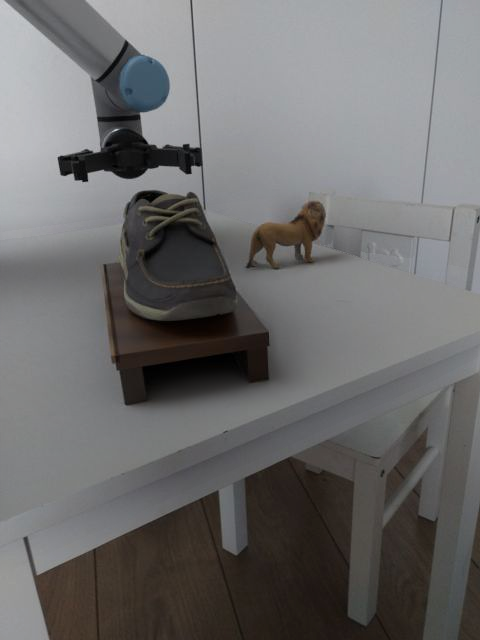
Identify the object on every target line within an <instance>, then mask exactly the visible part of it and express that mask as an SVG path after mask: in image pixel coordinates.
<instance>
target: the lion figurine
mask: <svg viewBox="0 0 480 640" xmlns="http://www.w3.org/2000/svg"><path fill="white" fill-rule="evenodd" d="M326 218H327V212H326V209H325V206H324V204H323V203H322V202H321V201H318V200H308V201H307V202H304V204H302V205H301V210H300V211H299V212H298V213H297V214H296V216H295V217H294V218H293V219H291V220H290V221H289V222H281V223H280V222H272V221H271V222H269V221H268V222H264V223H261V224H260V225H259V226H258V227H256V228H255V230H254V232H253V234H252V236H251V239H250V246H249V254H248V261H247V263H246V265H245V267H244V269H250V268H251V267H256V266H258V261H256V260H254V259H255V257H256V255H257V254H258V253H259V252H260V251H262V249H264V250H265V260H266V262H267V263H268V264H269V266H270V268H272V269H280V268H281V265H280V264H279V263H277V262H275V260H274V258H273V257H274V253H275V251H276V247H277V245H278V246H281V247H294V258H295V259H296V260H303V259H304V260H305V261H306V263H311V264H312V263H314V262H315V259H314V258H313V257H311V255H312V249H313V242H315V241H317V240H318V239H319V238H320V237H321V236H322V233H323V229H324V226H325V224H326V223H325V222H326ZM302 246H303V248H304V255H303V254H302Z"/></svg>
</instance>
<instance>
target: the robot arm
mask: <svg viewBox="0 0 480 640" xmlns="http://www.w3.org/2000/svg"><path fill="white" fill-rule="evenodd" d="M3 1H4V2H5V3H6V4H7V5H9V6H10V7H11V8H12V9H13V10H14V11H16V12H17V13H18V15H20V16H21V17H22V18H24V20H25V21H27V22H28V23H29V24H30V25H32V26H33V27H34V28H35V29H36V30H37V31H39V33H40V34H42V35H43V36H44V37H45V38H47V40H49V41H50V42H51V43H52V44H53V45H54V46H55V47H56V48H57V49H59V50H60V51H61V52H62V53H64V55H66V56H67V57H68V58H69V59H70V60H71V61H73V62H74V63H75V64H76V65H77V66H78V67H79V68H81V70H83V71H84V72H85V73H86V74H88V75H89V77H90V82H91V89H92V95H93V100H94V107H95V114H96V120H97V121H96V122H97V123H96V124H97V129H98V135H99V147H100V149H99V151H95V152H94V150H91V149H88V148H84V149H83V150H81V151H78V152H74V153H69V154H65V155H59V156H57V164H58V168H59V169H58V170H59V174H60V175H59V176H60V177H61V176H62V177H67V176H69V175H73V180H74V182H76V181H78V182H79V181H81V182H82V183H89V175H88V174H91V173H95V172H100V171H101V172H102V171H104V172H107V173H109V172H111V173H112V174H113V175H114V176H117V177H118V178H120V179H125V180H135V179H137V178H140V177H142V176H143V175H144V174H146V172H147V171H148V170H153V169H158V168H159V167H170V168H172V167H173V168H178V169H179V170H180V171H181V172H182V173H183V174H185V175H192V174H193V171H192V167H197V168H199V167H202V166H203V152H202V147H199V146H196V147H193V146H191V144H190V143H183V144H182V146H178V145H173V144H169V143H168V144H165V145H163V146H162V148H161V147H157V145H156V144H150V143H149V142H148V141H147V139H146V138H145V137H144V135H143V125H142V118H141V117H142V116H141V113H142V114H143V113H149V112H152V111H155V110H158V109H159V108H161V107H162V106H163V105H164V104H165V103H166V101H167V99H168V97H169V94H170V89H171V81H170V77H169V74H168V72H167V70H166V68H165V66H164V65H163V64H162V63H161V62H160V61H159V60H157V59H155V58H153V57H151V56H148V55H145V54H142V53H141V52H140V51H139V50H137V48H136V47H135V46H134V45H132V43H130V42H129V41H128V40H127V39H126V38H125V37H124V36H123V35H122V34H121V33H120V32H119V31H117V29H116V28H115V27H113V25H111V23H109V21H108V20H107V19H105V17H103V16H102V15H101V14H100V13H99V12H98V11H97V10H96V9H95V8H94V7H93V6H92V5H91V4H90V3H89V2H88V1H87V0H3Z"/></svg>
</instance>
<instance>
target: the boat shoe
mask: <svg viewBox="0 0 480 640" xmlns="http://www.w3.org/2000/svg"><path fill="white" fill-rule="evenodd" d="M122 215H123V219H124V221H123V224H122V228H121V235H120V248H119V249H120V250H119V255H118V257H119V262H120V263H121V266H122V270H123V272H124V278H125V279H124V297H125V300H126V305H127V307H128V308H129V309H130V310H131V311H132V312H133V313H135V314H136V315H138V316H140V317H143V318H146V319H150V320H156V321H178V320H187V319H195V318H203V317H209V316H215V315H217V314H219V315H222V314H226V313H230V312H232V311H234V310H235V309H236V305H237V301H238V299H237V296H236V290H237V287H236V284H235V283H234V280H233V278H232V275H231V272H230V269H229V267H228V264H227V261H226V259H225V258H224V255H223V254H222V251H221V249H220V246H219V245H218V241H217V237H216V235H215V234H214V232H213V230H212V228H211V226H210V224H209V222H208V221H207V217H206V214H205V212H204V208H203V205H202V204H201V201H200V198H199V196H198V195H197V194H196V193H195V192H192V191H188V192H187V193H186V195H181V194H176V193H168V192H165V191H162V190H158V189H147V190H139V191H138V192H136V193H135V194H134V195H133V196H132V198H131V199H130V201H128V202H127V203H126V204H125V206H124V209H123V214H122Z"/></svg>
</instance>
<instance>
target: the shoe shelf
mask: <svg viewBox="0 0 480 640" xmlns="http://www.w3.org/2000/svg"><path fill="white" fill-rule="evenodd" d="M100 272H101V281H102V290H103V299H104V300H103V301H104V309H105V318H106V327H107V336H108V344H109V345H108V346H109V353H110V360H111V361H110V362H111V364H112V365H115V369H116V371H118V373H119V378H120V379H119V380H120V384H121V390H122V396H123V402H124V403H123V404H124V405H131V404H136V403H143V402H147V401H148V398H147V397H148V396H147V390H146V383H145V375H144V369H143V367H149V366H154V365H161V364H168V363H173V362H179V361H180V362H181V361H185V360H191V359H199V358H206V357H212V356H217V355H223V354H224V355H225V354H229V353H231V355H232V356H233V358H234V360H235V361H236V363H237V364H238V366H239V368H240V370H241V371H242V374H243V375H244V377H245V379H246V380H247V382H248V383H249V384H253V383H258V382H265V381H269V380H270V367H269V365H270V364H269V347H270V345H271V344H270V343H271V341H270V340H271V339H270V331H269V330H268V328H267V327H266V326H265V324H264V323H263V322H262V321H261V319H260V318H259V316H258V315H257V314H256V313H255V312H254V311H253V309H252V308H251V307H250V305H249V304H248V303H247V301H246V300H245V299H244V297H243V296H242V295H241V294H240V292H239V291H238V290H237V289H236V296H237V299H238V301H237V305H236V309H235V310H234V311H232V312H230V313H226V314H222V315H219V314H217V315H215V316H209V317H203V318H195V319H187V320H178V321H156V320H150V319H146V318H143V317H140V316H138V315H136V314H135V313H133V312H132V311H131V310H130V309H129V308H128V307H127V305H126V300H125V297H124V279H125V278H124V272H123V270H122V266H121V263H120V261H119V262H118V261H117V262H111V263H110V262H109V263H101V264H100Z"/></svg>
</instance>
